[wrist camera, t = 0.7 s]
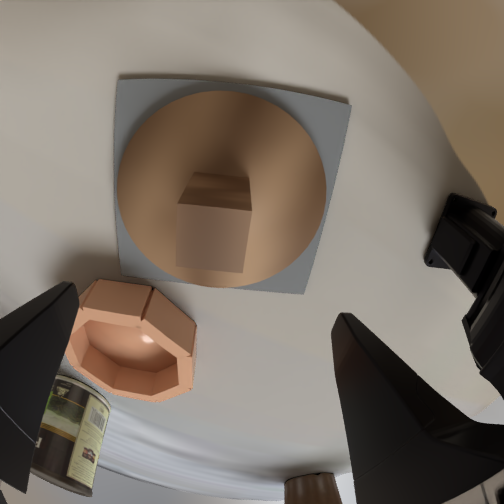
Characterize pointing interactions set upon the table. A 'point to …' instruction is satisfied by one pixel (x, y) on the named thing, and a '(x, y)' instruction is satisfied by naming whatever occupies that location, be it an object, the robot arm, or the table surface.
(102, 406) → the coffee can
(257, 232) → the lid
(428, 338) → the table surface
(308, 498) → the plant pot
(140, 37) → the table surface
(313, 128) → the mat
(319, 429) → the table surface
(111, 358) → the bowl
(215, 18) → the table surface
